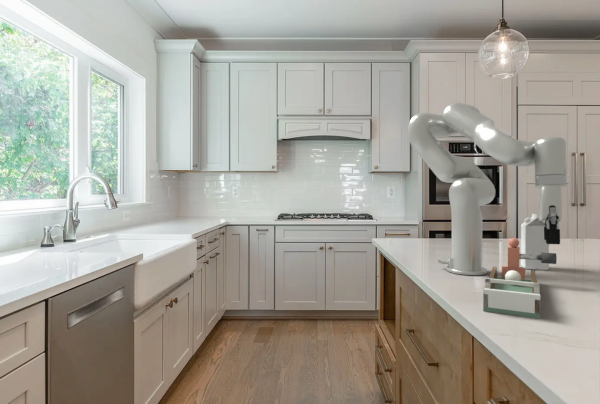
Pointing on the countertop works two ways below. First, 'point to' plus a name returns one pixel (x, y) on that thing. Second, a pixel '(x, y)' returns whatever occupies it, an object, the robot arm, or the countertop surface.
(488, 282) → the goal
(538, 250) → the milk carton
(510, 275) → the egg
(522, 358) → the countertop surface
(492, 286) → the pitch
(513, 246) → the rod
